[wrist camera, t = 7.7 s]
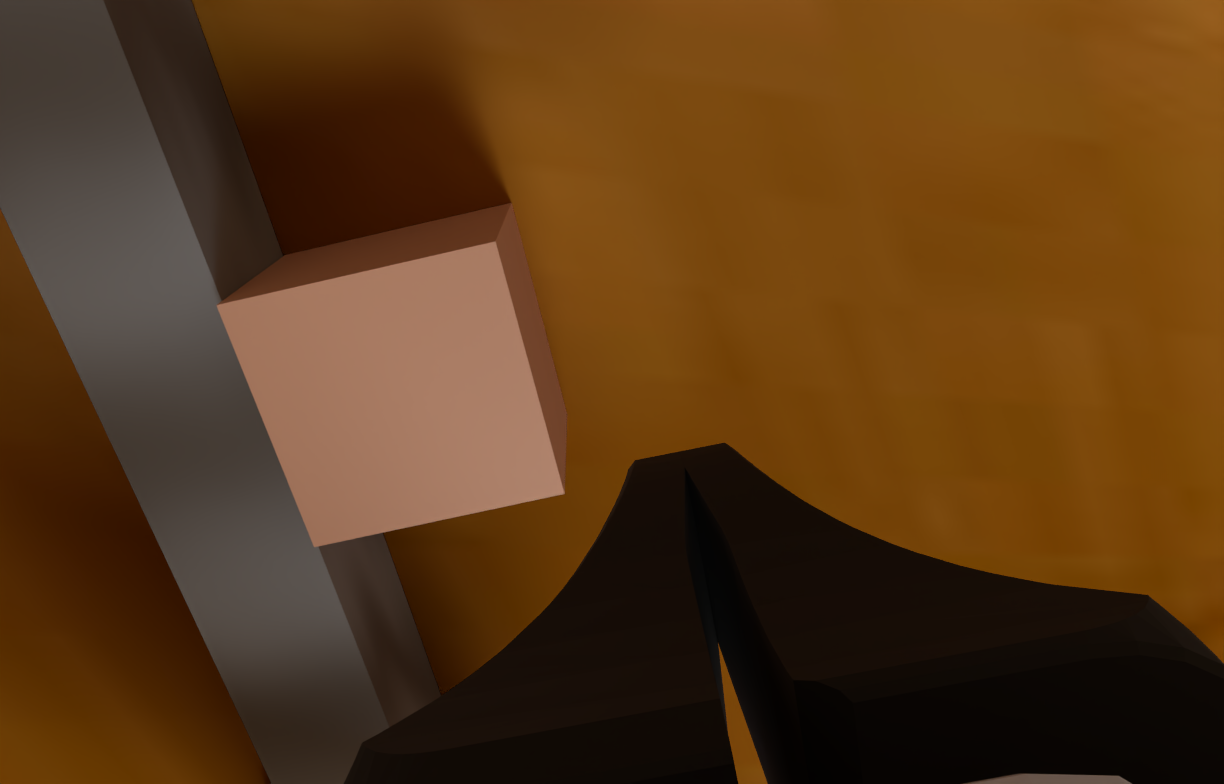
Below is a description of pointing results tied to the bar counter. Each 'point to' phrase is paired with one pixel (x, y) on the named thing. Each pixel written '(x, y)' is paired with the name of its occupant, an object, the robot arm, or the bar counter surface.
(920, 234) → the bar counter surface
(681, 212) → the bar counter surface
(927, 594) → the robot arm
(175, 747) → the bar counter surface
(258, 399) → the block
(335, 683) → the gray rectangular bar
